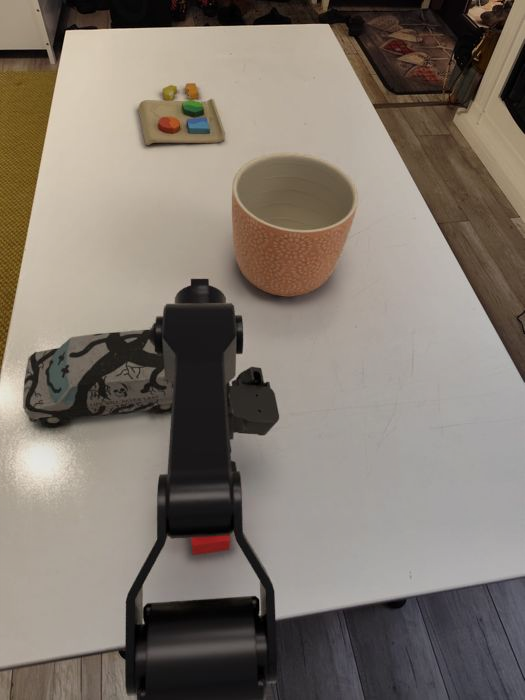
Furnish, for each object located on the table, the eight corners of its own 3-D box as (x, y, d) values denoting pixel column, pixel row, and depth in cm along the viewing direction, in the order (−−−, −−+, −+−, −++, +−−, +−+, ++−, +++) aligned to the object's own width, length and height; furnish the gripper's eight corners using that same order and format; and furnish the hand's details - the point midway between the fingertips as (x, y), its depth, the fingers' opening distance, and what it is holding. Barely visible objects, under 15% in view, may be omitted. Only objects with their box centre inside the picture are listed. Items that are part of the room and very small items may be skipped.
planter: (214, 246, 103) (215, 161, 88) (309, 226, 108) (326, 144, 93) (251, 324, 92) (259, 243, 77) (354, 298, 98) (381, 218, 82)
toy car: (36, 372, 83) (17, 333, 75) (191, 356, 87) (189, 318, 79) (31, 431, 77) (10, 397, 69) (199, 411, 81) (197, 376, 73)
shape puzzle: (226, 143, 124) (226, 129, 121) (145, 148, 120) (144, 135, 117) (207, 88, 138) (207, 75, 135) (135, 91, 134) (133, 78, 132)
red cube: (229, 549, 69) (230, 538, 65) (192, 555, 68) (191, 544, 64) (224, 514, 72) (225, 501, 68) (190, 519, 71) (188, 506, 67)
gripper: (293, 465, 50) (277, 518, 63) (263, 317, 61) (254, 387, 74) (177, 479, 49) (184, 530, 61) (167, 324, 59) (175, 395, 72)
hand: (203, 454), depth 67 cm, fingers closed
